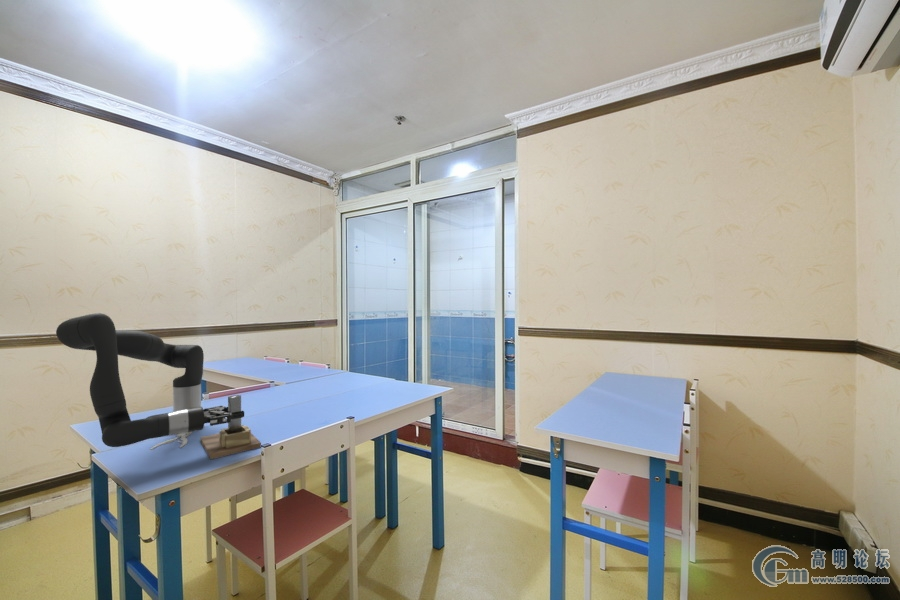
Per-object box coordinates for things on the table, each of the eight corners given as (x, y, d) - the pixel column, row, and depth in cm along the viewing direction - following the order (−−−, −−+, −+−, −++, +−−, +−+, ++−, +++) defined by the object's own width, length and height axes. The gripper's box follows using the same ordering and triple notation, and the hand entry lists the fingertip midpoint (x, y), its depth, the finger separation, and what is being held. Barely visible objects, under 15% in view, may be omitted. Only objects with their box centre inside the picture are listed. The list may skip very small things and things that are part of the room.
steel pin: (227, 441, 132) (226, 396, 131) (239, 438, 134) (239, 394, 134) (229, 445, 129) (229, 398, 128) (242, 441, 131) (242, 396, 131)
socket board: (200, 441, 136) (200, 426, 135) (246, 431, 146) (246, 417, 145) (210, 459, 121) (210, 442, 121) (260, 447, 131) (260, 431, 131)
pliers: (149, 446, 128) (172, 431, 143) (149, 451, 128) (172, 435, 143) (181, 444, 130) (201, 429, 145) (181, 448, 130) (201, 433, 145)
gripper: (188, 414, 116) (246, 404, 127) (182, 404, 127) (236, 396, 138) (188, 438, 117) (246, 426, 127) (182, 426, 127) (236, 416, 138)
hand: (241, 410), depth 133 cm, fingers open, 8 cm apart
